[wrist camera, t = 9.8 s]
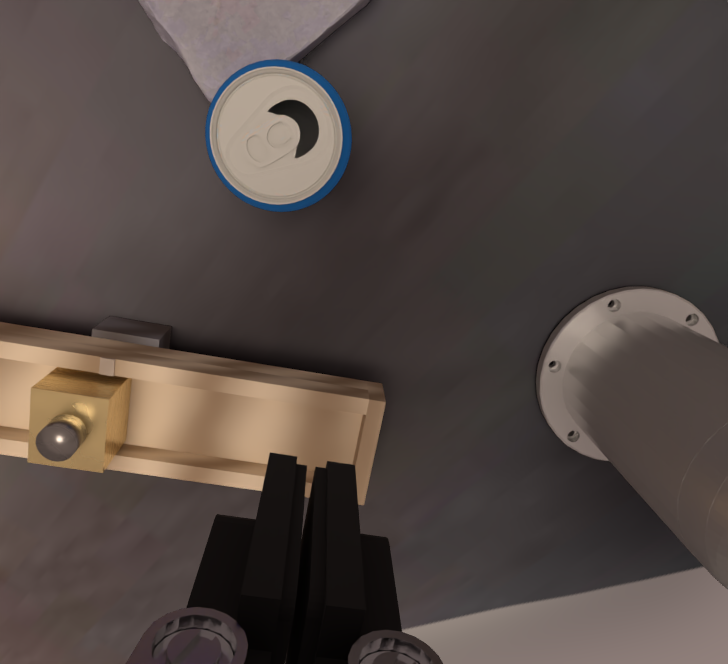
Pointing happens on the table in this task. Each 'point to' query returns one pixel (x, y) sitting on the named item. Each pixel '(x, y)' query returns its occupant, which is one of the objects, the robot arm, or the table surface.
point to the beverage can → (278, 135)
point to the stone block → (244, 32)
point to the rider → (78, 419)
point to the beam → (198, 406)
